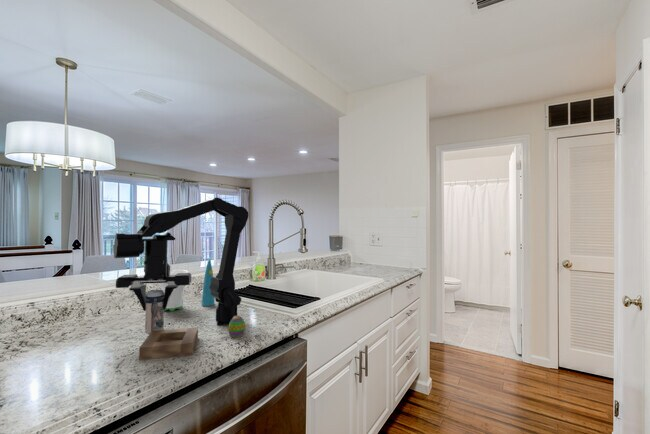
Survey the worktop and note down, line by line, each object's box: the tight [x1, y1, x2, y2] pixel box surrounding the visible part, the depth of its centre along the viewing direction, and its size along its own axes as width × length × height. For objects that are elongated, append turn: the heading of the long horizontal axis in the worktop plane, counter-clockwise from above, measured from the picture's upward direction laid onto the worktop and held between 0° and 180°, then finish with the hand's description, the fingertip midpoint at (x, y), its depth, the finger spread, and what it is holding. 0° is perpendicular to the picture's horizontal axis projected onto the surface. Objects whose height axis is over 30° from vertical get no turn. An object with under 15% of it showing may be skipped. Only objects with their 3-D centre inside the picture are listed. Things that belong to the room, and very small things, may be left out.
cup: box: [158, 269, 190, 312], centre depth 119 cm, size 11×11×14 cm
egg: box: [227, 314, 246, 339], centre depth 92 cm, size 5×5×6 cm
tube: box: [201, 256, 215, 307], centre depth 125 cm, size 7×5×19 cm, turn 26°
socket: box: [138, 327, 199, 361], centre depth 82 cm, size 12×12×3 cm
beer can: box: [144, 289, 165, 335], centre depth 89 cm, size 5×5×12 cm
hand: (155, 309), depth 89 cm, fingers closed on beer can, 5 cm apart
